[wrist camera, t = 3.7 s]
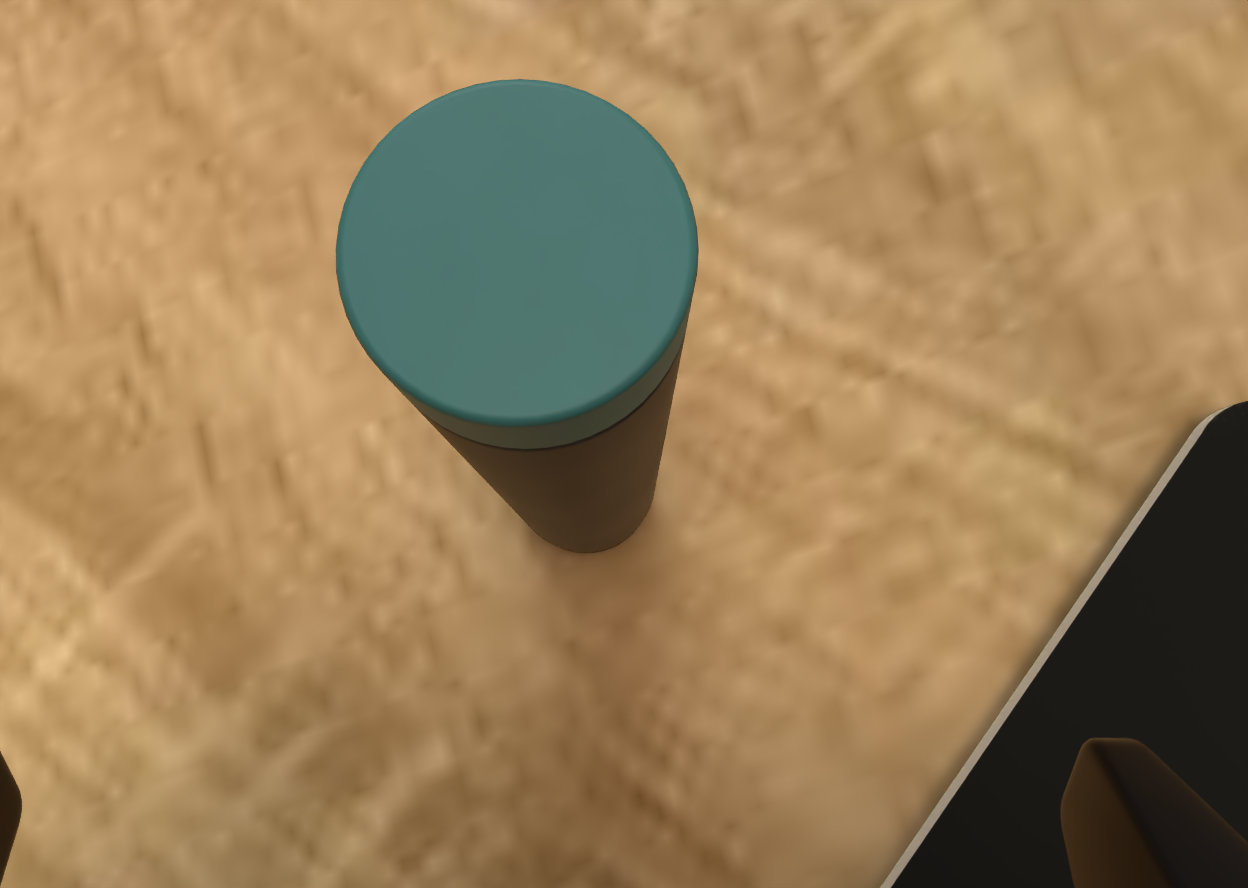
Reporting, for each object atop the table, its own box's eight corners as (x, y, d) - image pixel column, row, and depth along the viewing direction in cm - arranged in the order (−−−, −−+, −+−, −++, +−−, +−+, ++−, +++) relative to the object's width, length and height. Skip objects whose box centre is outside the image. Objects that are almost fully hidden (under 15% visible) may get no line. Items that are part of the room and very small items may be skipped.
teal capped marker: (610, 580, 20) (579, 494, 7) (495, 513, 20) (262, 310, 7) (678, 465, 20) (764, 183, 7) (564, 399, 20) (456, 13, 8)
